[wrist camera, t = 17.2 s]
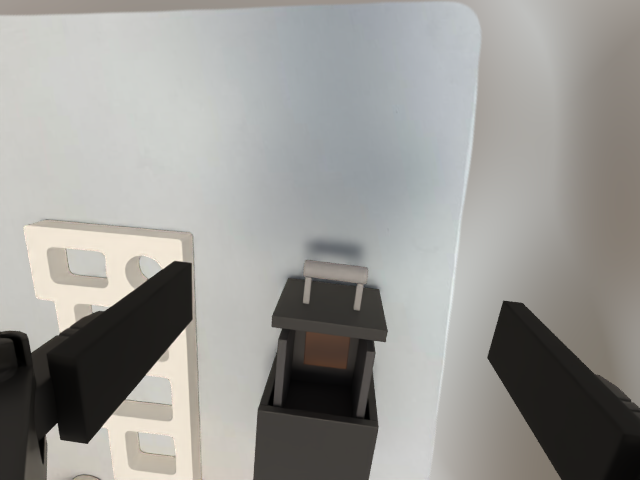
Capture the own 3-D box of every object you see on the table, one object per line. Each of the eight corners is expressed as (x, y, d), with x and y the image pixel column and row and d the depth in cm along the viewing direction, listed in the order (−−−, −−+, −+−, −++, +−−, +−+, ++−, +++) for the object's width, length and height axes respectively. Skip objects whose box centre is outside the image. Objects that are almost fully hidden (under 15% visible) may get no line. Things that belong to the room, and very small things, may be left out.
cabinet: (278, 346, 44) (257, 410, 33) (371, 358, 43) (378, 427, 33) (271, 438, 48) (250, 519, 38) (355, 450, 47) (357, 536, 37)
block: (310, 305, 39) (306, 326, 35) (350, 310, 39) (351, 331, 35) (308, 340, 41) (303, 364, 36) (346, 344, 40) (346, 369, 36)
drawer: (291, 240, 39) (275, 270, 30) (385, 252, 38) (396, 285, 30) (279, 376, 44) (263, 434, 35) (362, 388, 43) (366, 449, 35)
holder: (202, 517, 53) (195, 536, 51) (89, 501, 54) (76, 520, 51) (192, 233, 40) (181, 239, 37) (43, 219, 41) (22, 225, 38)
